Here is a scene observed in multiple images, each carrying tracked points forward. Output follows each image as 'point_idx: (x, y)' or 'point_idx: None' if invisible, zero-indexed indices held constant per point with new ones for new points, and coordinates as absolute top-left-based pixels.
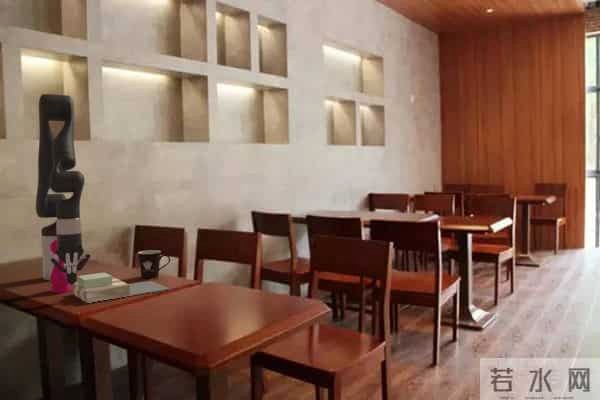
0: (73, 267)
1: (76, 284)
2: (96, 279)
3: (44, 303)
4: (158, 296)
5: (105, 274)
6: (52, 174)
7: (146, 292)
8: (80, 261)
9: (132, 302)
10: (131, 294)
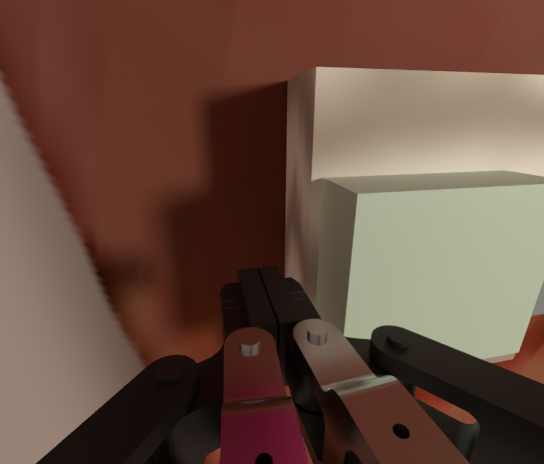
0: (318, 453)
1: (317, 156)
2: None
3: (70, 218)
4: (523, 363)
5: (531, 272)
6: None
7: (531, 315)
8: (489, 420)
9: (422, 400)
10: None
